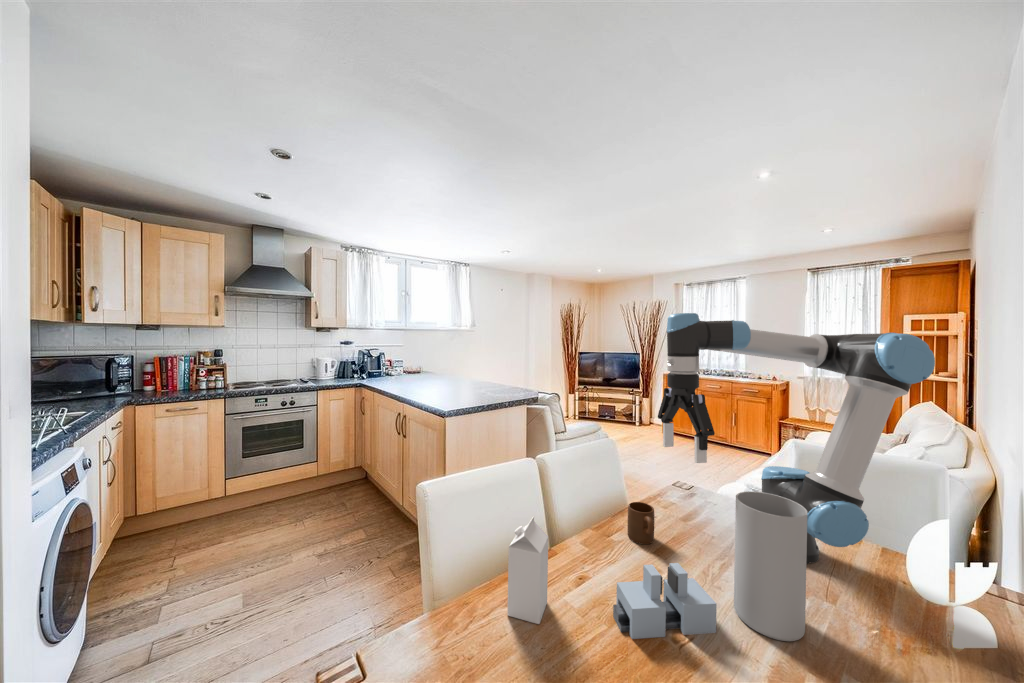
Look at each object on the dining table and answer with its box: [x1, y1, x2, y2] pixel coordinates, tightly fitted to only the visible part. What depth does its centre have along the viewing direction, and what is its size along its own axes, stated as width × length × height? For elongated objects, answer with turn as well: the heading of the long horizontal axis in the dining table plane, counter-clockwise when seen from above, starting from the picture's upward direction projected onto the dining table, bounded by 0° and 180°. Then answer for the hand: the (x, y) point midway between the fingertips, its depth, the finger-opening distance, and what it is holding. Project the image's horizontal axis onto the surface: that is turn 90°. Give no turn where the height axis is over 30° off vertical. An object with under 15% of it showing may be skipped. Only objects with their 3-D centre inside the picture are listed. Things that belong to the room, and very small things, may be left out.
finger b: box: [662, 562, 718, 636], centre depth 78 cm, size 8×8×11 cm
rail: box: [612, 601, 681, 633], centre depth 77 cm, size 20×4×3 cm, turn 96°
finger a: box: [615, 564, 666, 640], centre depth 77 cm, size 8×8×11 cm
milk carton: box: [507, 515, 549, 625], centre depth 80 cm, size 7×7×19 cm
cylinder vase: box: [733, 491, 807, 642], centre depth 78 cm, size 12×12×25 cm
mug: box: [627, 501, 655, 545], centre depth 108 cm, size 12×8×9 cm, turn 2°
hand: (683, 454), depth 95 cm, fingers open, 13 cm apart
